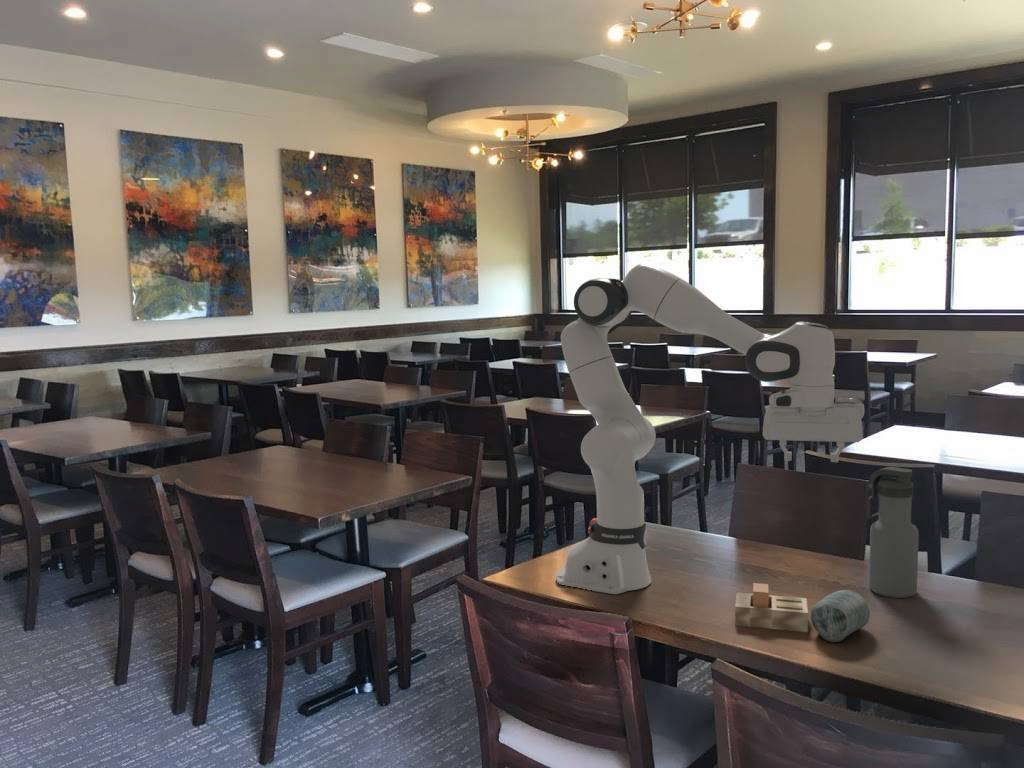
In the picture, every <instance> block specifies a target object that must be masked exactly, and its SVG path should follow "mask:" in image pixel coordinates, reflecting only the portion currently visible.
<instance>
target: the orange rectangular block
mask: <svg viewBox="0 0 1024 768" xmlns="http://www.w3.org/2000/svg"><path fill="white" fill-rule="evenodd" d="M752 589H753V590H752V594H753V607H764V608H768V606H769V595H770V594H769V584H768V583H760V582H759V583H757V582H753V583H752Z"/></svg>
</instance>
